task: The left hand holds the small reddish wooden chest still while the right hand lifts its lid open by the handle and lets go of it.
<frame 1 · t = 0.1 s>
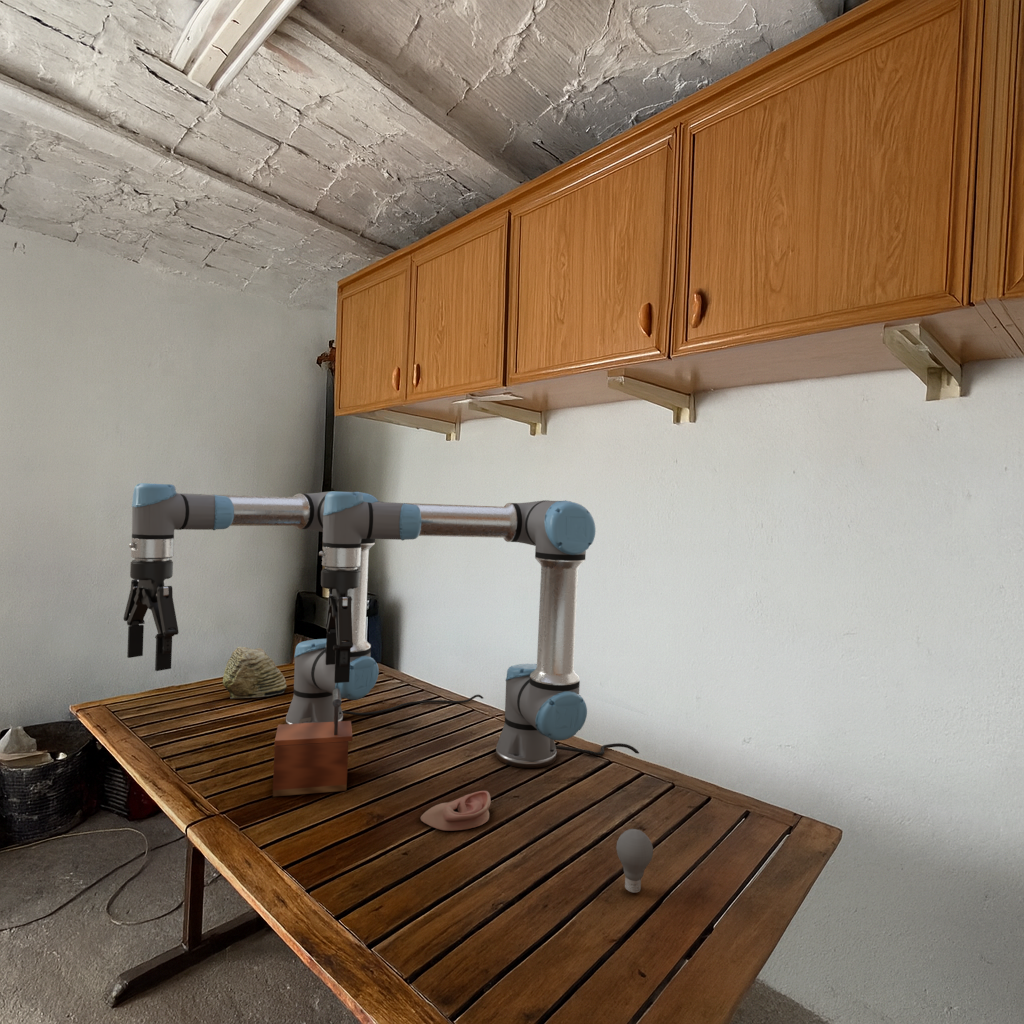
left hand: (148, 663, 129), 28 cm above the table, tool pointing down, fingers open, 13 cm apart
right hand: (336, 672, 128), 28 cm above the table, tool pointing down, fingers open, 13 cm apart
chest: (310, 783, 140), on the table
light bulb: (632, 891, 106), on the table
fossil: (254, 694, 198), on the table
lid: (315, 714, 139), point 15 cm above the table, hinge at 0.0°
anatomical model: (455, 818, 127), on the table
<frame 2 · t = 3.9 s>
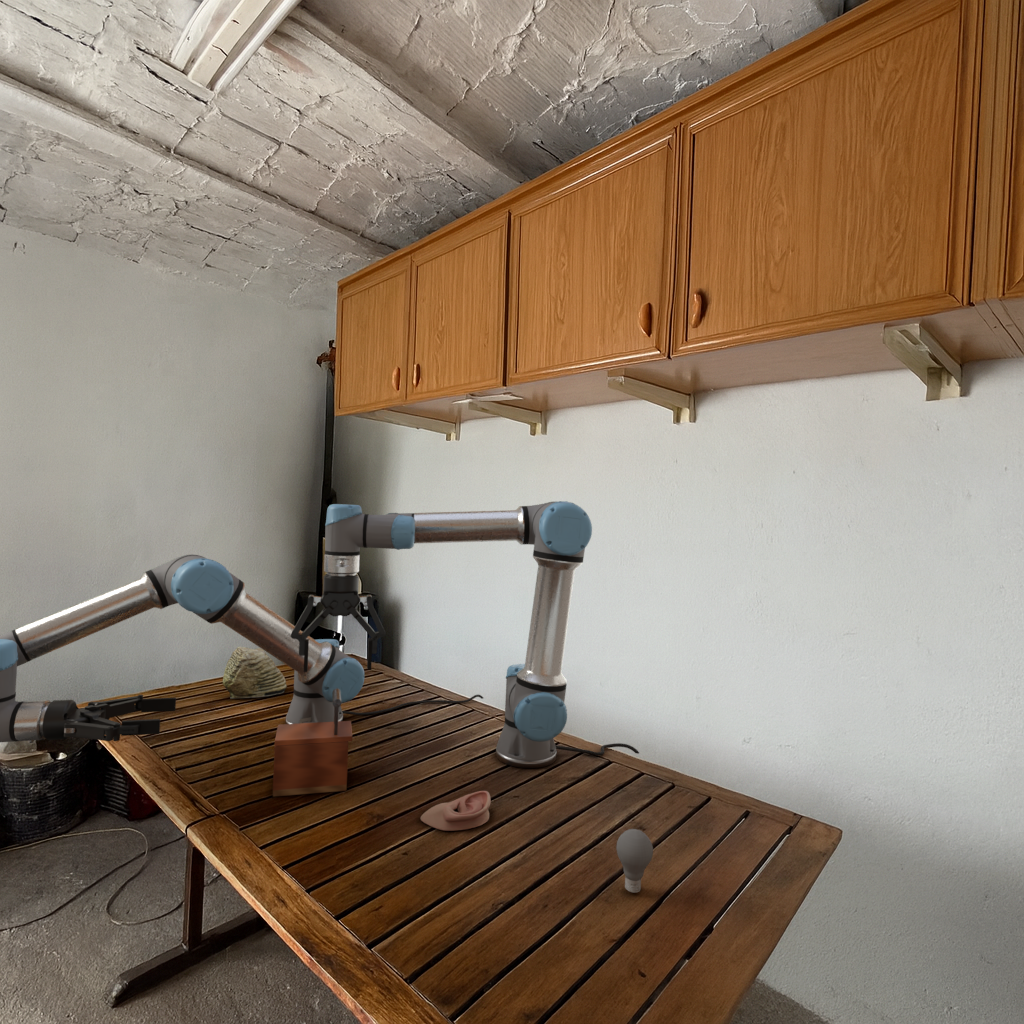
left hand: (168, 714, 131), 17 cm above the table, tool horizontal, fingers open, 13 cm apart
right hand: (337, 669, 141), 25 cm above the table, tool pointing down, fingers open, 13 cm apart
nothing on the table moved.
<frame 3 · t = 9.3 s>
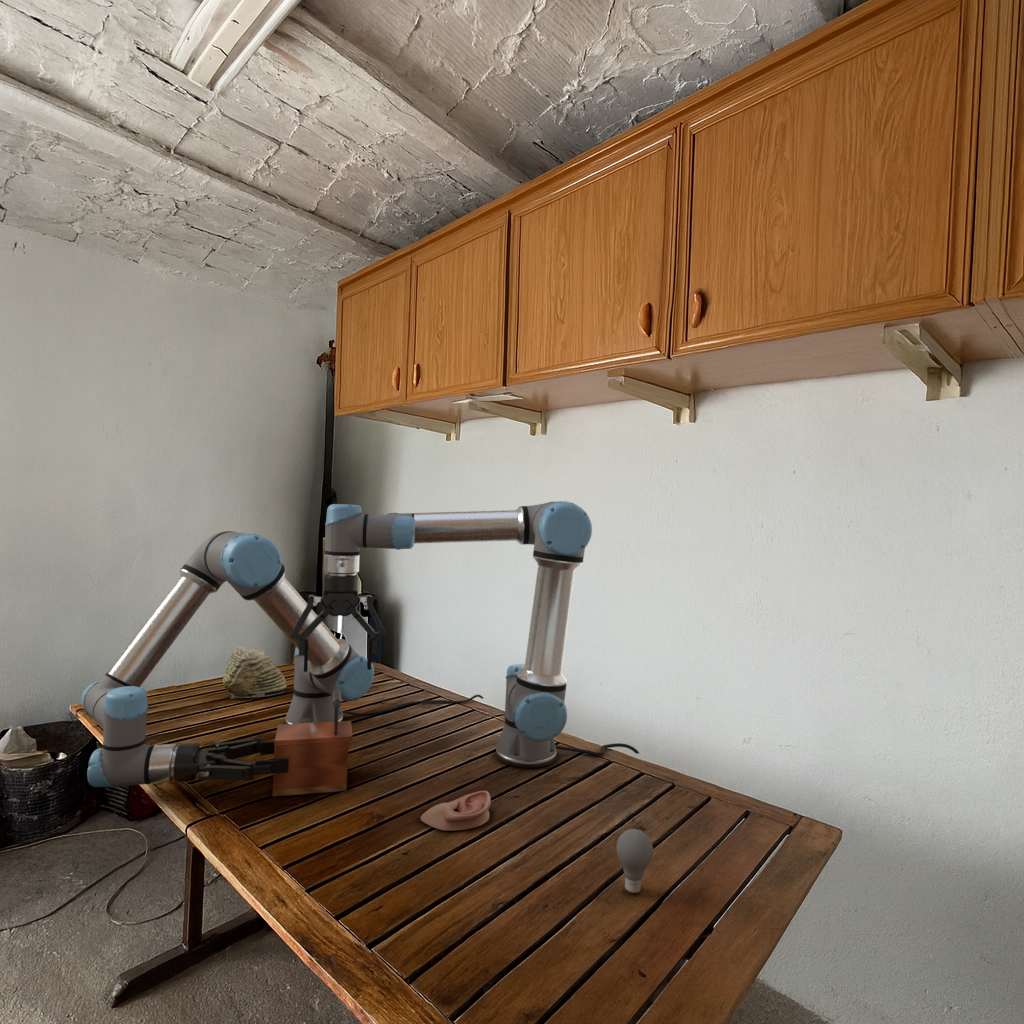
left hand: (289, 755, 138), 7 cm above the table, tool horizontal, fingers closed on chest, 10 cm apart
right hand: (337, 669, 141), 25 cm above the table, tool pointing down, fingers open, 13 cm apart
chest: (310, 783, 140), on the table, touching left hand
everything else where it was.
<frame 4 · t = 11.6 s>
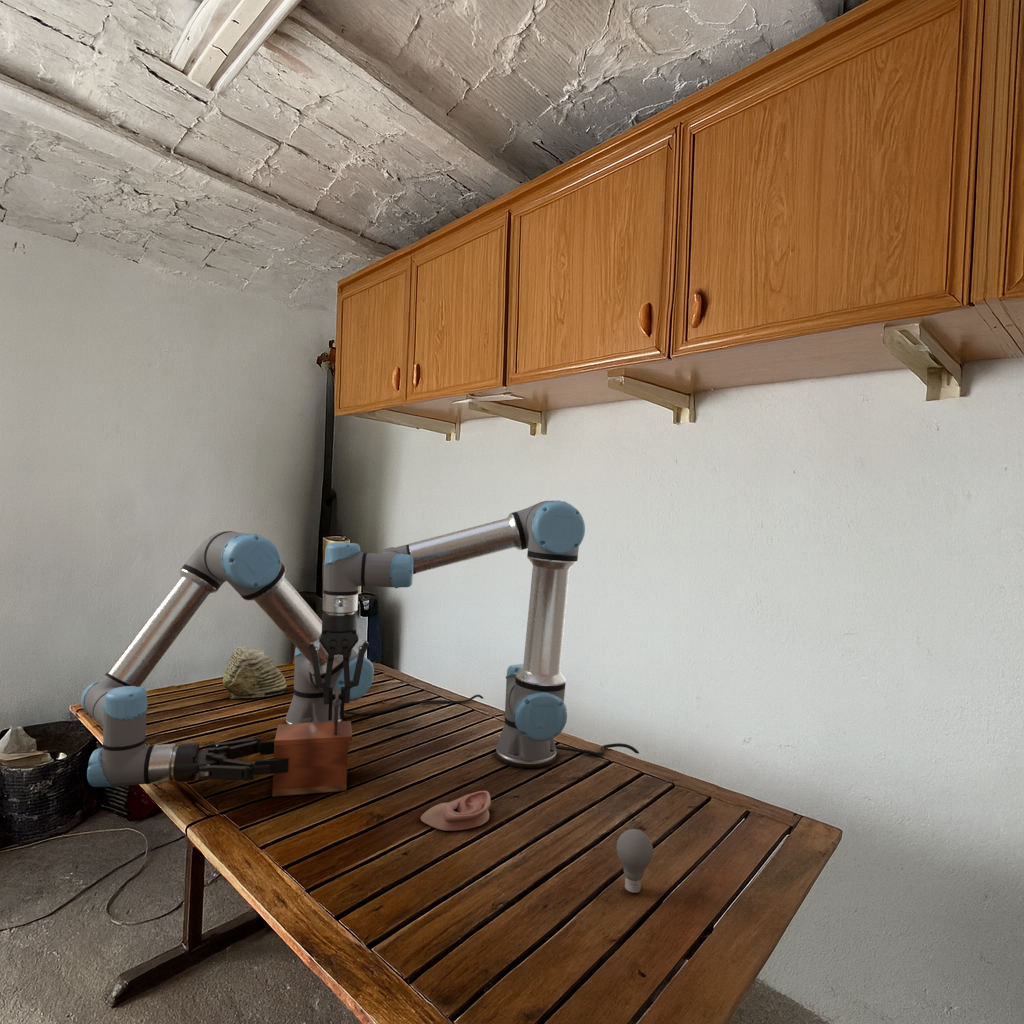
left hand: (289, 755, 138), 7 cm above the table, tool horizontal, fingers closed on chest, 10 cm apart
right hand: (335, 717, 141), 14 cm above the table, tool pointing down, fingers closed on lid, 2 cm apart
chest: (310, 783, 140), on the table, touching left hand
lid: (315, 714, 139), point 15 cm above the table, hinge at -0.1°, touching right hand
everything else where it was.
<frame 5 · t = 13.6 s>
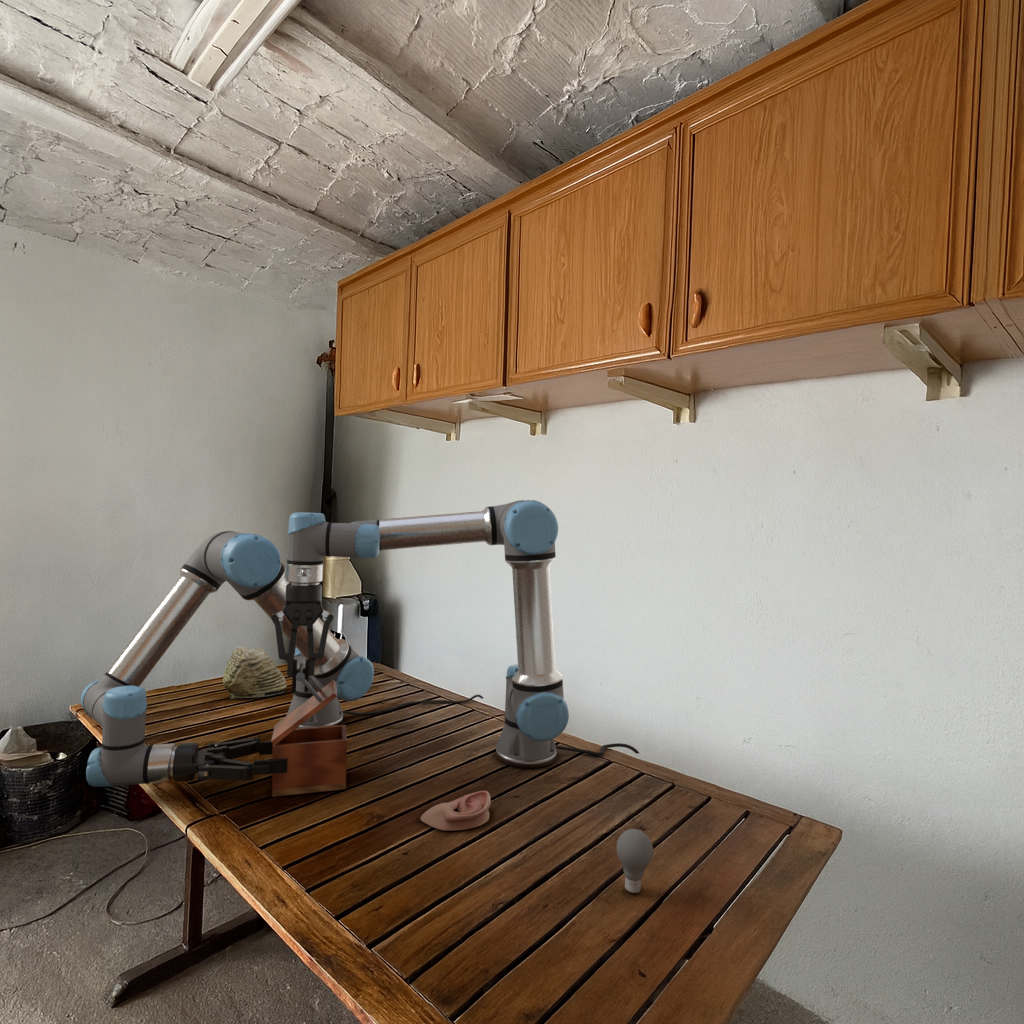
left hand: (288, 755, 138), 7 cm above the table, tool horizontal, fingers closed on chest, 10 cm apart
right hand: (300, 690, 139), 21 cm above the table, tool pointing down, fingers closed on lid, 2 cm apart
chest: (310, 782, 140), on the table, touching left hand
lid: (294, 697, 138), point 19 cm above the table, hinge at 37.1°, touching right hand
everything else where it was.
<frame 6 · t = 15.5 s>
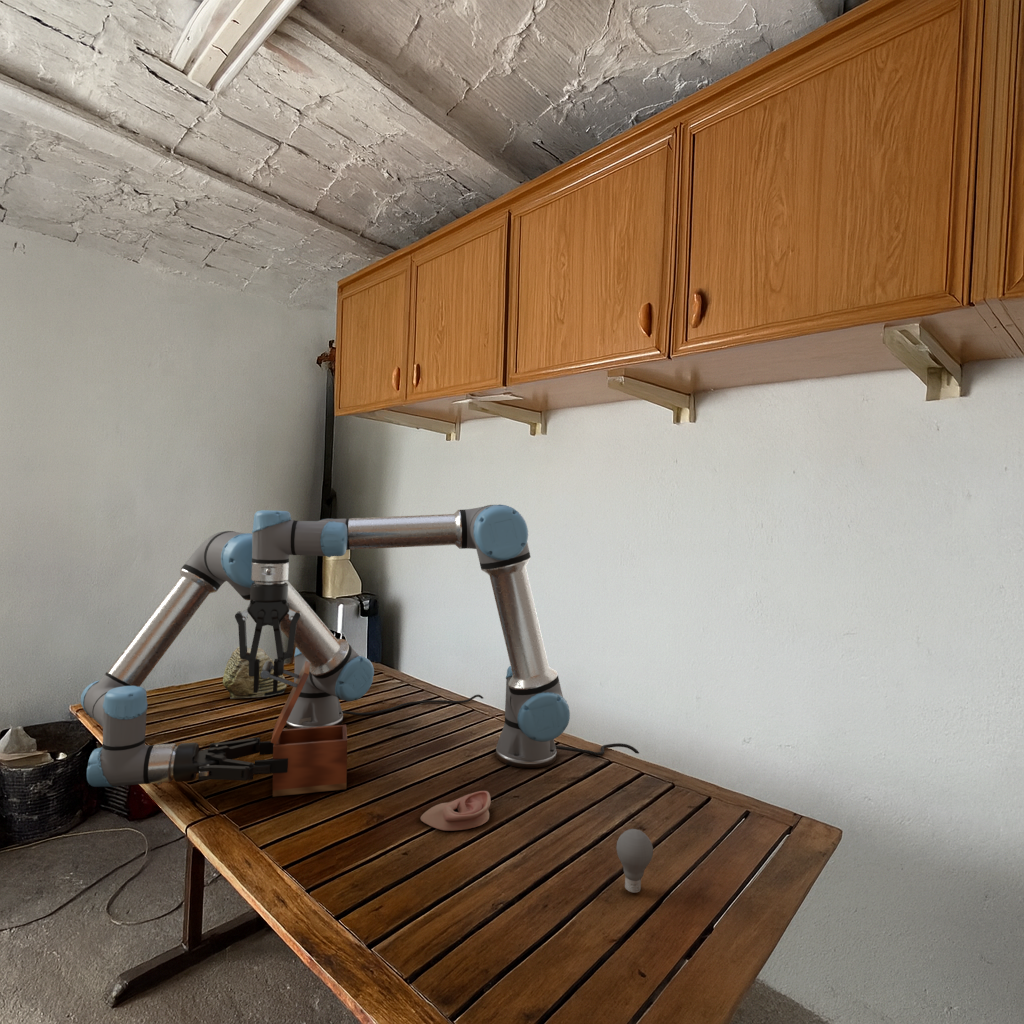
left hand: (289, 755, 138), 7 cm above the table, tool horizontal, fingers closed on chest, 10 cm apart
right hand: (265, 690, 136), 21 cm above the table, tool pointing down, fingers open, 3 cm apart
chest: (310, 782, 140), on the table, touching left hand
lid: (273, 694, 137), point 20 cm above the table, hinge at 65.8°
everything else where it was.
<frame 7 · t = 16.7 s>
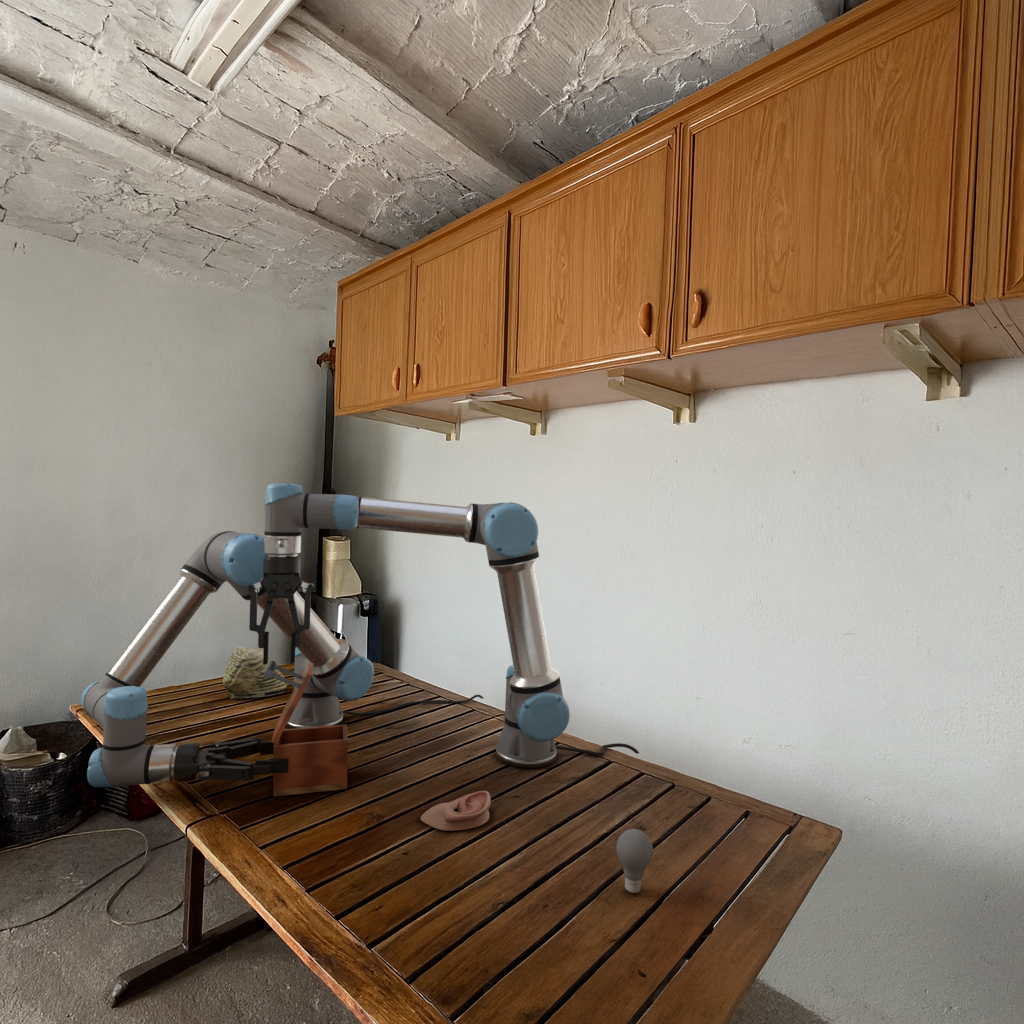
left hand: (289, 755, 138), 7 cm above the table, tool horizontal, fingers closed on chest, 10 cm apart
right hand: (279, 662, 137), 27 cm above the table, tool pointing down, fingers open, 5 cm apart
chest: (311, 782, 140), on the table, touching left hand
lid: (275, 694, 137), point 20 cm above the table, hinge at 63.5°
everything else where it was.
when the left hand's fingers open (7 cm above the table, at t = 19.4 s): chest stays where it is, on the table.
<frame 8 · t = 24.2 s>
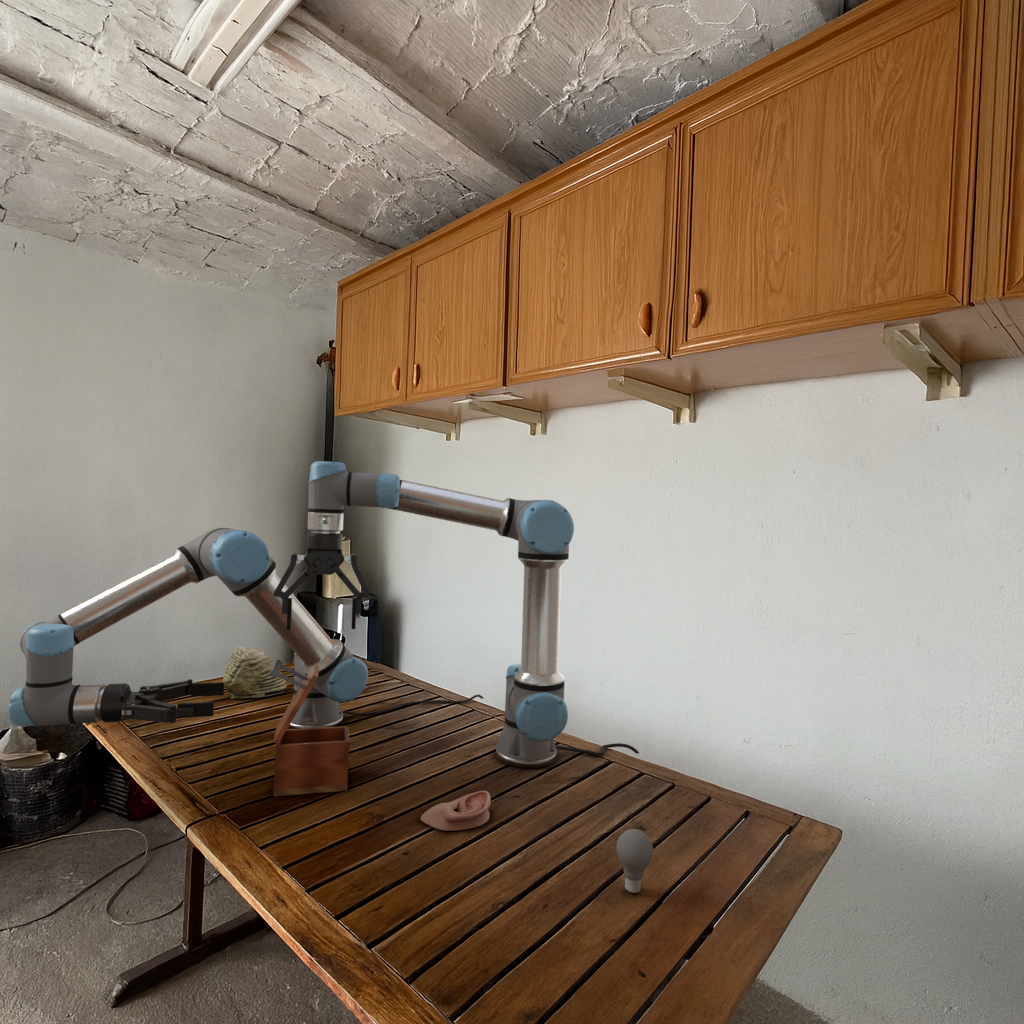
left hand: (219, 698, 134), 20 cm above the table, tool horizontal, fingers open, 13 cm apart
right hand: (321, 628, 139), 34 cm above the table, tool pointing down, fingers open, 13 cm apart
chest: (311, 783, 140), on the table
lid: (280, 694, 137), point 20 cm above the table, hinge at 61.4°
everything else where it was.
at the end: lid at +61° (first picture: +0°); the left hand is holding nothing; the right hand is holding nothing; chest tilted 0°; chest never tilted more than 2° during the clip; chest moved 0.2 cm from its start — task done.
